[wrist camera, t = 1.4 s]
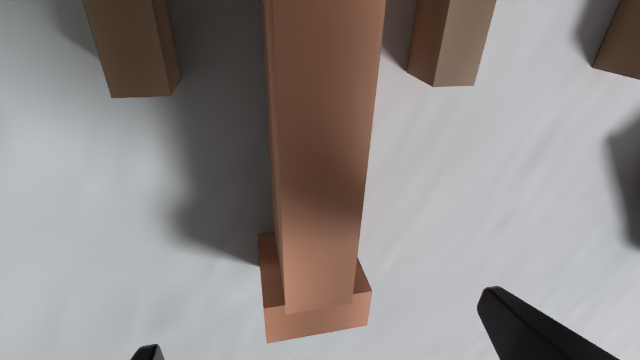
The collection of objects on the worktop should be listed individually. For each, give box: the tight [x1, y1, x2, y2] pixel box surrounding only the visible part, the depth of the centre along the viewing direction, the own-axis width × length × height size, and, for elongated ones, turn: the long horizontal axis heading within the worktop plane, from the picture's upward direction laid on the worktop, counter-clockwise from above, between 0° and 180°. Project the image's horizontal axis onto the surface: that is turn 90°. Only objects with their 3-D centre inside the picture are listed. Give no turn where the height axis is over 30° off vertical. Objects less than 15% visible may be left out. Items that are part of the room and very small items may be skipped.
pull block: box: [257, 0, 386, 343], centre depth 10 cm, size 5×20×4 cm, turn 179°
